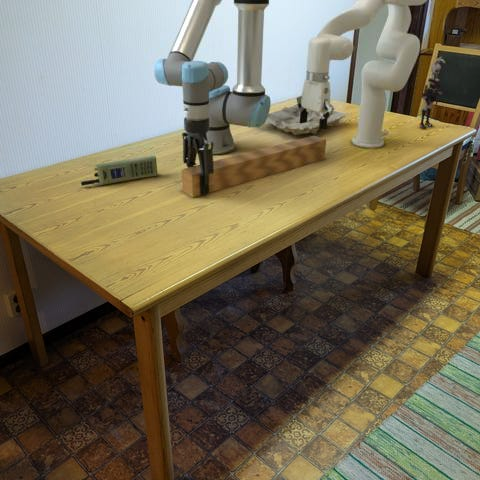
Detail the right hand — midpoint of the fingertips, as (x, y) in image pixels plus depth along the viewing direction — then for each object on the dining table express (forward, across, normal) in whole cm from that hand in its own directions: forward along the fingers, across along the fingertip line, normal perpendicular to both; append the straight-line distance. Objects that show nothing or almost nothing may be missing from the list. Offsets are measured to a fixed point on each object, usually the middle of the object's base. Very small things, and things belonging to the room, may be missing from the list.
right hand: (312, 126), depth 180 cm
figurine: (+12, 0, -70) cm, 71 cm away
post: (+13, 0, +24) cm, 27 cm away
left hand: (+12, 0, +49) cm, 50 cm away
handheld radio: (+13, +22, +65) cm, 70 cm away
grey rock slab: (+12, +31, -24) cm, 41 cm away
